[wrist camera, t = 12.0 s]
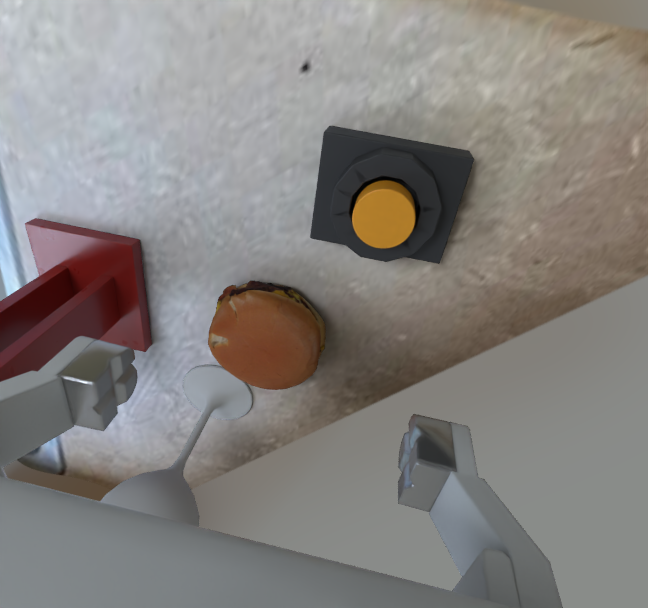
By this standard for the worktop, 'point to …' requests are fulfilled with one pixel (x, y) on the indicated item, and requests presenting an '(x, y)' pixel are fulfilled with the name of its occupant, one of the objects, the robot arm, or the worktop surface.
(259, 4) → the worktop surface
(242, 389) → the wineglass
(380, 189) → the button
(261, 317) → the burger
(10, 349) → the bracket
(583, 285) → the worktop surface
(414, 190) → the button box
